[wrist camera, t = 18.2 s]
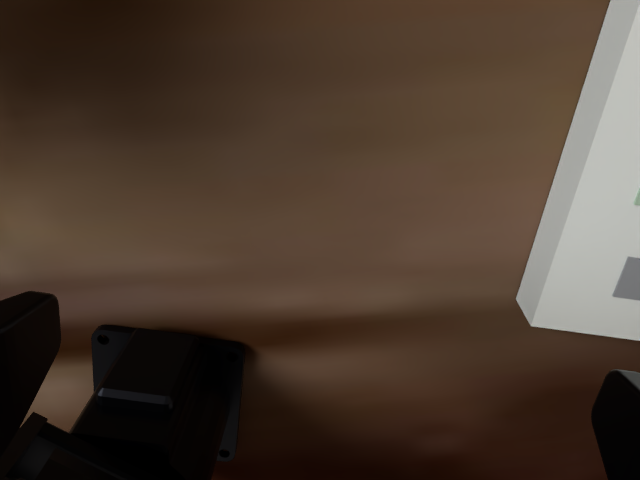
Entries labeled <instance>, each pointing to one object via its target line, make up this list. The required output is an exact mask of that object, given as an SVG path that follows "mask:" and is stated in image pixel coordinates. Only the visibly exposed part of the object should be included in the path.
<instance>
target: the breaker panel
mask: <svg viewBox="0 0 640 480" xmlns="http://www.w3.org/2000/svg"><path fill="white" fill-rule="evenodd" d="M516 300H517V302H518V304H519V306H520V308H521V309H522V311H523V313H524V315H525V317H526V318H527V320H528V322H529V324H530V325H531V326H534V327H541V328H549V329H556V330H564V331H571V332H578V333H586V334H593V335H601V336H608V337H616V338H623V339H630V340H638V341H640V0H611V1H610V4H609V7H608V10H607V13H606V16H605V19H604V23H603V26H602V29H601V32H600V35H599V38H598V42H597V45H596V48H595V51H594V54H593V57H592V60H591V64H590V67H589V70H588V73H587V76H586V79H585V83H584V86H583V89H582V92H581V95H580V98H579V102H578V105H577V108H576V111H575V114H574V117H573V120H572V124H571V127H570V130H569V133H568V136H567V139H566V143H565V146H564V149H563V152H562V155H561V158H560V161H559V165H558V168H557V171H556V174H555V177H554V180H553V184H552V187H551V190H550V193H549V196H548V199H547V203H546V206H545V209H544V212H543V215H542V218H541V221H540V225H539V228H538V231H537V234H536V237H535V240H534V244H533V247H532V250H531V253H530V256H529V259H528V263H527V266H526V269H525V272H524V275H523V278H522V281H521V285H520V288H519V291H518V294H517V297H516Z"/></svg>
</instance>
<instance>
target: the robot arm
mask: <svg viewBox="0 0 640 480" xmlns="http://www.w3.org/2000/svg"><path fill="white" fill-rule="evenodd" d="M102 335H105V336H107V337H108V338H109V339H104V338H103V337H102ZM91 339H92V360H93V382H94V393H93V395H92V396H91V398H90V399H89V401H88V403H87V404H86V406H85V407H84V409H83V411H82V412H81V414H80V415H79V417H78V418H77V420H76V422H75V423H74V425H73V426H72V428H71V430H70V431H69V433H68V432H66V431H64V430H62V429H60V428H58V427H56V426H54V425H52V424H50V423H48V422H47V420H48V419H47V418H45V417H43V416H41V415H39V414H37V413H35V412H33V413H32V414H31V415H30V417H29V418H28V419H27V420H26V421H25V423H24V424H23V425H22V426H21V424H22V422H23V420H24V418H25V416H26V414H27V412H28V410H29V408H30V406H31V404H32V402H33V400H34V398H35V396H36V395H37V393H38V391H39V389H40V387H41V385H42V383H43V381H44V379H45V377H46V375H47V373H48V371H49V369H50V367H51V365H52V363H53V361H54V359H55V357H56V355H57V353H58V351H59V348H60V343H61V329H60V316H59V304H58V300H57V297H55V296H54V295H53V294H50V293H42V292H35V291H28V292H24V293H21V294H18V295H16V296H13V297H10V298H7V299H4V300H1V301H0V480H211V478H212V474H213V470H214V467H215V463H216V461H230V460H232V459H233V458H234V456H235V453H236V449H237V438H238V427H239V416H240V405H241V394H242V383H243V371H244V360H245V349H244V347H243V346H242V345H241V344H239V343H237V342H232V341H225V340H217V339H210V338H202V337H195V336H193V335H187V334H179V333H172V332H164V331H157V330H149V329H142V328H138V329H135V328H127V327H120V326H112V325H101V326H98V328H97V329H96V330H95V331H94V333H93V334H92V338H91ZM229 352H234V353H236V354H237V356H231V355H230V354H229ZM591 420H592V426H593V429H594V432H595V436H596V439H597V443H598V446H599V450H600V453H601V457H602V460H603V464H604V467H605V471H606V474H607V477H608V480H640V373H638V372H633V371H626V370H618V369H614V370H611V371H610V372H609V373H608V374H607V375H606V377H605V379H604V381H603V384H602V386H601V389H600V391H599V393H598V396H597V398H596V400H595V403H594V405H593V408H592V413H591ZM20 426H21V427H20ZM19 427H20V428H19ZM222 449H225V450H228V451H224V450H222Z"/></svg>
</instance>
